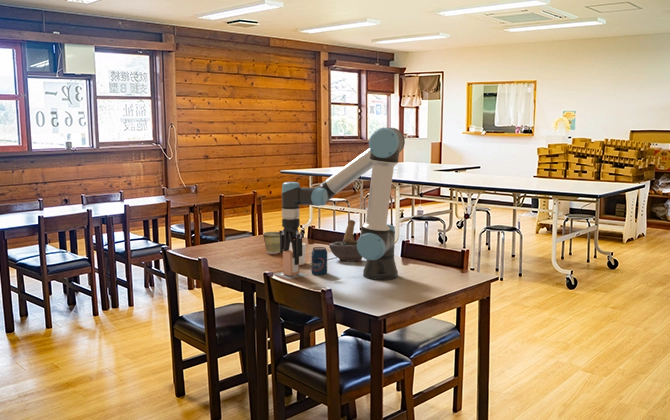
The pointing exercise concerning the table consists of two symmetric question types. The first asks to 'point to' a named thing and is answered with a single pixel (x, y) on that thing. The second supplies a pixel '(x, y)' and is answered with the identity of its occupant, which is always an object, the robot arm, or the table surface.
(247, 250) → the table surface
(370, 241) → the robot arm
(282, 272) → the mat
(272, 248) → the ceramic cup
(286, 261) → the block
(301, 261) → the white cup
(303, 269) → the table surface
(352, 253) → the mortar and pestle
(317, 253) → the soda can
